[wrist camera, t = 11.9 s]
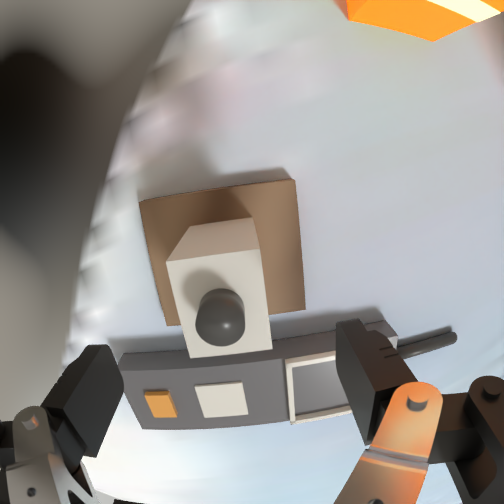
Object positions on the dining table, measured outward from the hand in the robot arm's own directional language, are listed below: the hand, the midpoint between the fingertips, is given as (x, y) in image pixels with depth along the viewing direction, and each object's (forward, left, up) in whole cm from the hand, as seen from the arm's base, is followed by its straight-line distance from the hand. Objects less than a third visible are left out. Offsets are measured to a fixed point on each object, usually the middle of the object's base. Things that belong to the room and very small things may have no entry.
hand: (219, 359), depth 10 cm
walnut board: (0, 0, -12) cm, 12 cm away
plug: (0, 0, -11) cm, 11 cm away
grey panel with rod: (-5, +11, -12) cm, 17 cm away
